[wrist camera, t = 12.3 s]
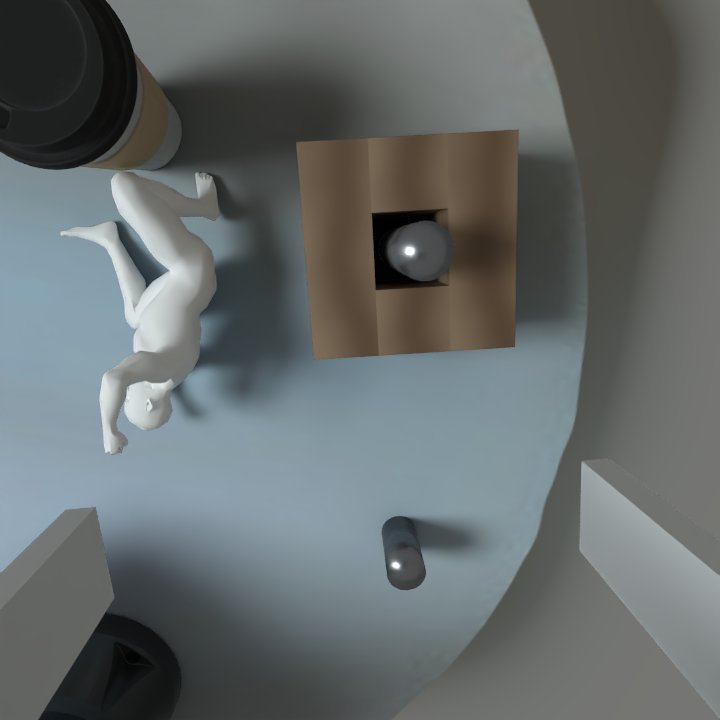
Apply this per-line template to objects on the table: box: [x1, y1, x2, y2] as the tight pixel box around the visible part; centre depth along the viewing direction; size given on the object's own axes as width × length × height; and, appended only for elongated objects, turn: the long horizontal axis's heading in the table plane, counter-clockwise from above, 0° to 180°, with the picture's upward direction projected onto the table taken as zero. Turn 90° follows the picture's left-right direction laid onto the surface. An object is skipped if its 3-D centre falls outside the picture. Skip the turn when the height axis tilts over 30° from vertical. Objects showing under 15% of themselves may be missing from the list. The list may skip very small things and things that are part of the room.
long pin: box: [378, 221, 455, 281], centre depth 33 cm, size 3×3×14 cm
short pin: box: [382, 516, 426, 590], centre depth 43 cm, size 3×3×6 cm
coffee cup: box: [0, 0, 182, 170], centre depth 30 cm, size 9×9×15 cm
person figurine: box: [61, 172, 219, 455], centre depth 36 cm, size 13×13×18 cm
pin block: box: [296, 130, 519, 360], centre depth 36 cm, size 14×14×8 cm
